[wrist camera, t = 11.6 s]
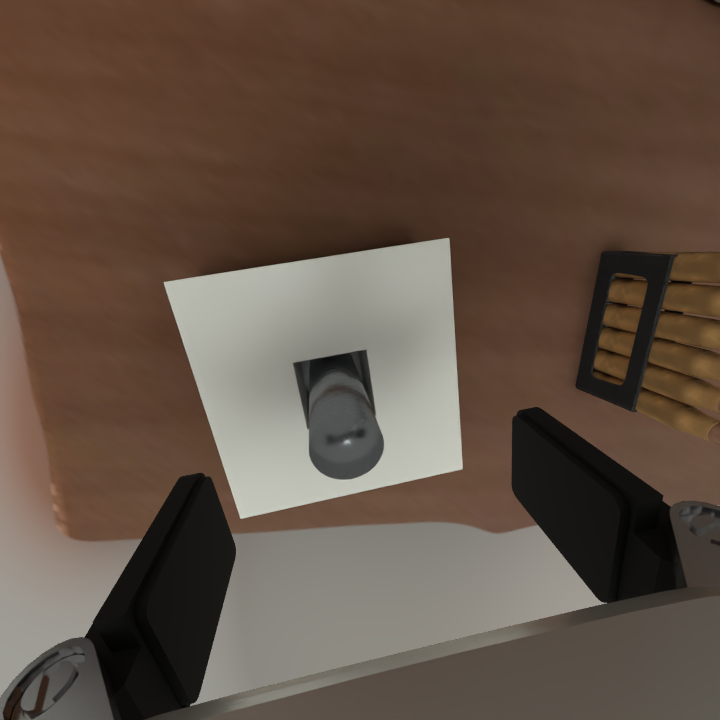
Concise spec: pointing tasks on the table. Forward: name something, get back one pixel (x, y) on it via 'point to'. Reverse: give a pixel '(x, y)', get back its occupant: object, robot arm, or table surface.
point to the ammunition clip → (656, 355)
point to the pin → (341, 420)
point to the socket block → (316, 340)
